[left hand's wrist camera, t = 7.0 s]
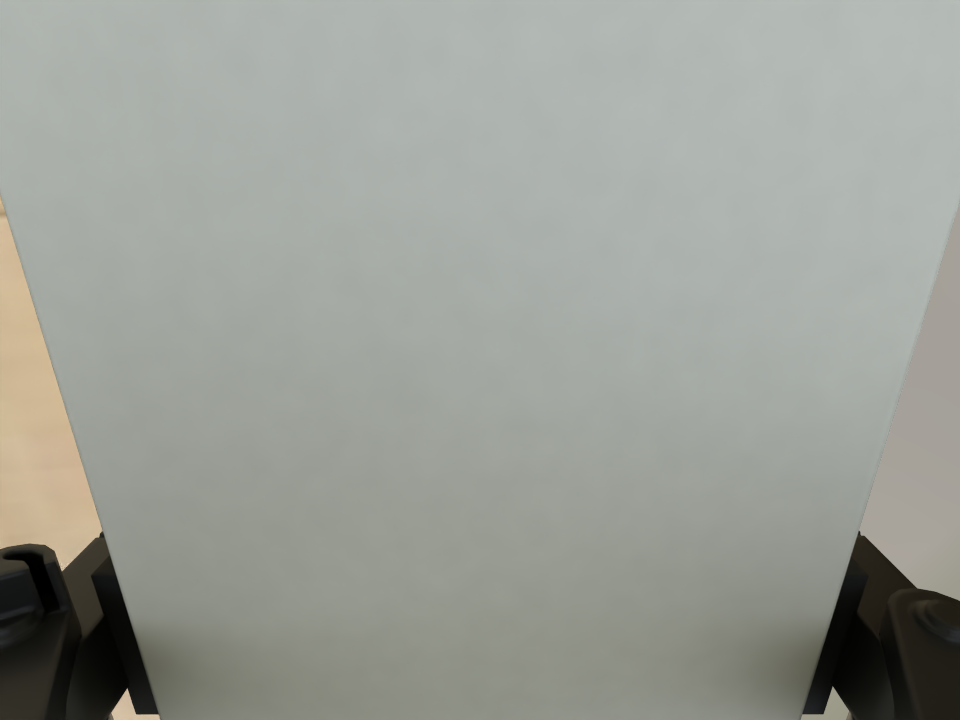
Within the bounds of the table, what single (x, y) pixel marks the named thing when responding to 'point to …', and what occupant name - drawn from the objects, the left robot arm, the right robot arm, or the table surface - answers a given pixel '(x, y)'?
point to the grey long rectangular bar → (480, 334)
